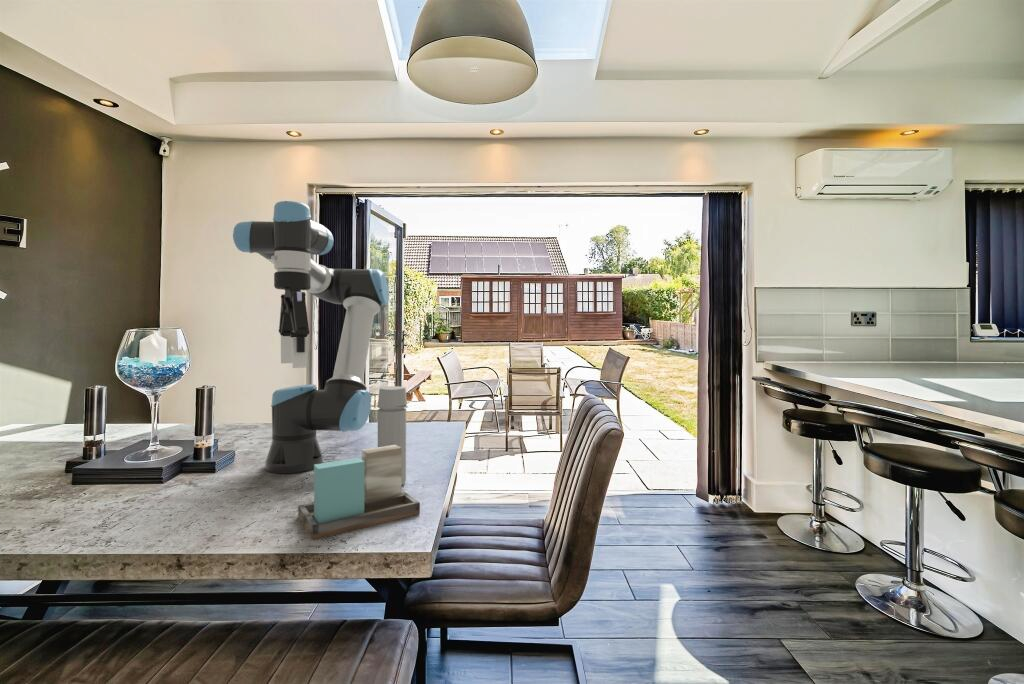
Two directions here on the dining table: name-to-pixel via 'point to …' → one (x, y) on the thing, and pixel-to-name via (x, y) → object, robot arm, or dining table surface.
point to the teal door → (338, 490)
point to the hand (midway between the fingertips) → (293, 365)
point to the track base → (370, 496)
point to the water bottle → (393, 421)
